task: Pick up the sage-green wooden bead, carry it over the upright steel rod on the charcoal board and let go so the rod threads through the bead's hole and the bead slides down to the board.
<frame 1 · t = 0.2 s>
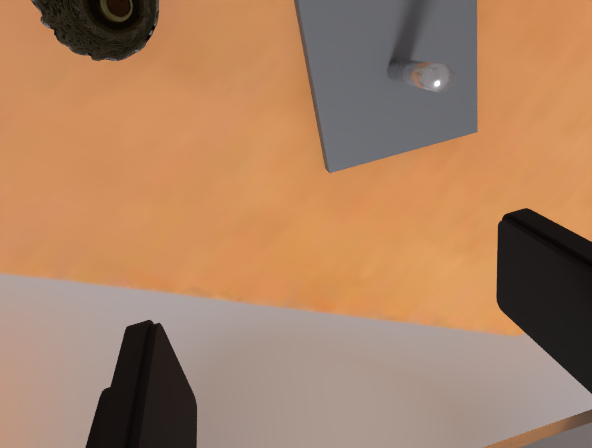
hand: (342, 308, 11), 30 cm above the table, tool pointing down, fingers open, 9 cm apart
cup: (119, 4, 33), on the table
board: (390, 68, 39), on the table
rod: (417, 73, 34), on the board, point 6 cm above the table
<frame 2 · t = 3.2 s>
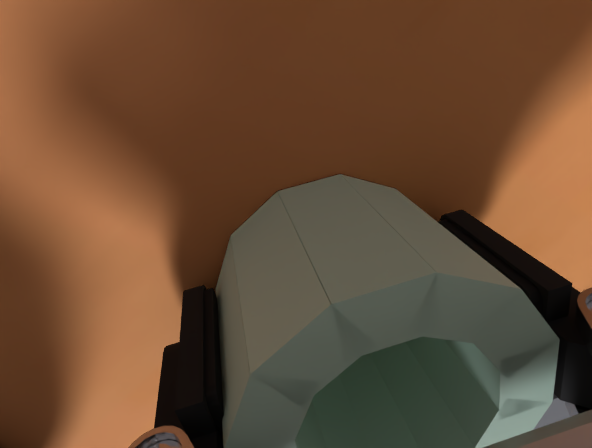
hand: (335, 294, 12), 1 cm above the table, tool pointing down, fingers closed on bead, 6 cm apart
bead: (329, 281, 12), on the table, touching gripper
board: (582, 446, 19), on the table
when the fingers open (12 cm above the table, at t = 8.1 s): bead drops 9 cm, resting on board.
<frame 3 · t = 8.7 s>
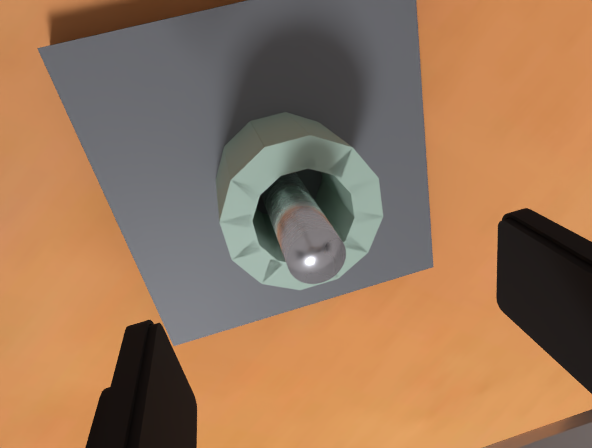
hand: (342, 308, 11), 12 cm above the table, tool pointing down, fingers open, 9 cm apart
bead: (282, 179, 21), point 1 cm above the table, touching board
board: (272, 171, 22), on the table
rod: (292, 211, 17), on the board, point 6 cm above the table
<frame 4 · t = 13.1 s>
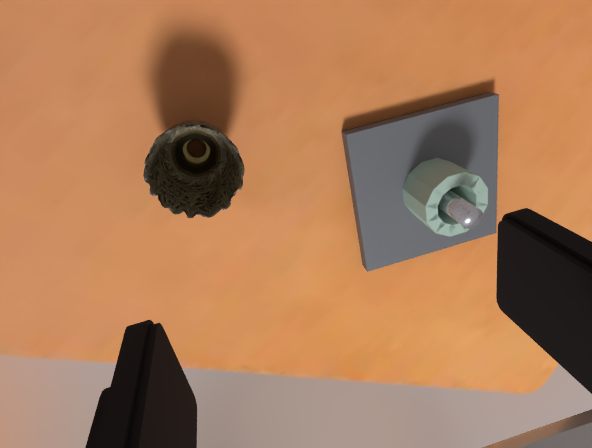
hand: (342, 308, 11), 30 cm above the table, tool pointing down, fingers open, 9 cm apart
bead: (431, 188, 44), point 1 cm above the table, touching board
cup: (196, 147, 38), on the table
board: (422, 184, 45), on the table
rod: (448, 202, 40), on the board, point 6 cm above the table
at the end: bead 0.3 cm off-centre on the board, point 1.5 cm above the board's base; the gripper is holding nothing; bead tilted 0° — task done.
